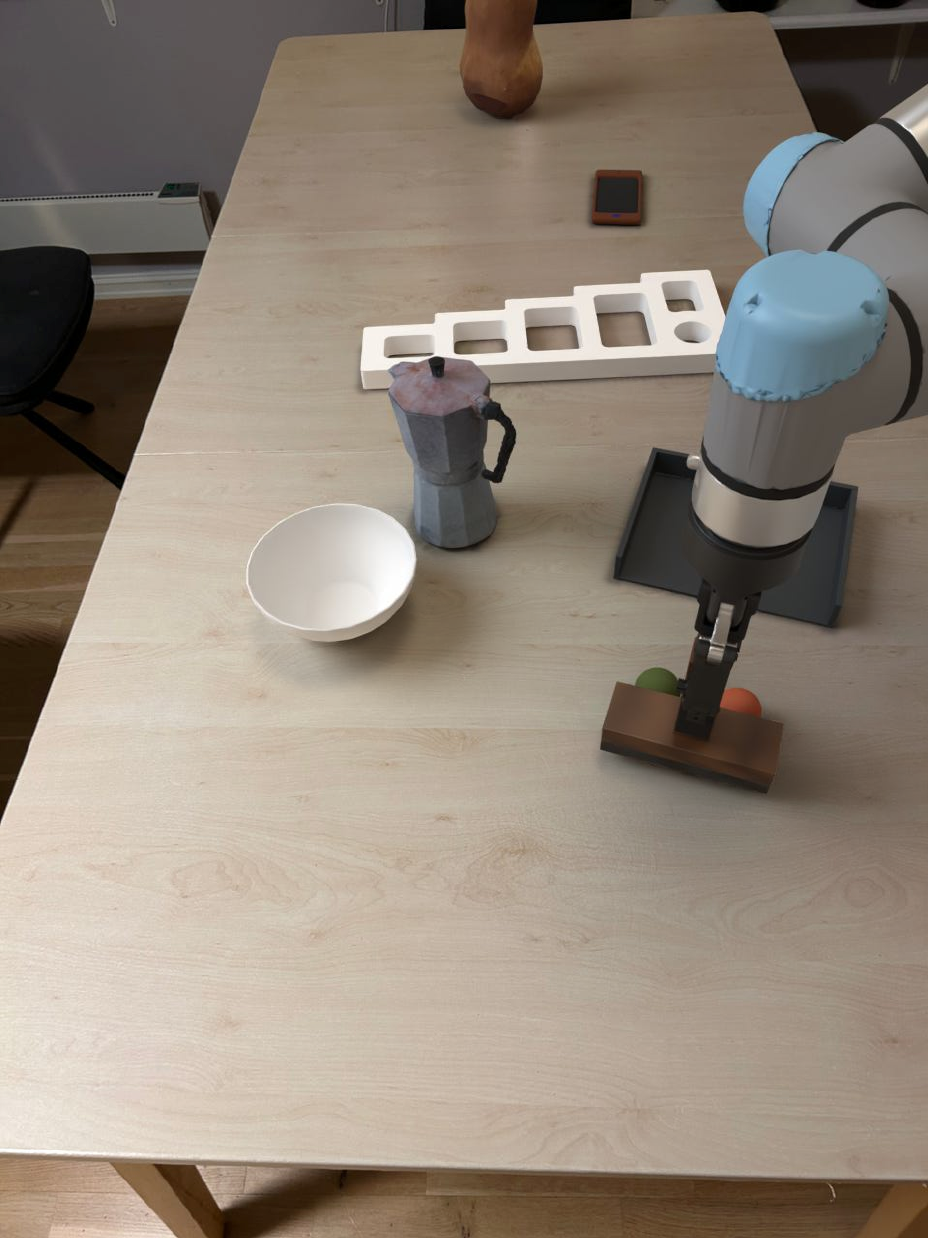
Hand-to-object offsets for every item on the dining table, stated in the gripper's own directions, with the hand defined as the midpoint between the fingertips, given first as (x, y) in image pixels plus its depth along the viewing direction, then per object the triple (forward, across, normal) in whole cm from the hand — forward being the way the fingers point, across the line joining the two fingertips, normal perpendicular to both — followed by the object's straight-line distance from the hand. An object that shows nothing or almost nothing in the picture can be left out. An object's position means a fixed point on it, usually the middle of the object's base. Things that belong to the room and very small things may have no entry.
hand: (695, 715), depth 75 cm
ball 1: (+4, -5, -4) cm, 7 cm away
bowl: (+7, -6, -35) cm, 36 cm away
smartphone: (+6, -91, -28) cm, 95 cm away
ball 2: (+4, -4, +3) cm, 7 cm away
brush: (+5, 0, 0) cm, 5 cm away
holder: (+7, -55, -29) cm, 62 cm away
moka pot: (+7, -21, -28) cm, 36 cm away
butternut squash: (+7, -115, -54) cm, 127 cm away
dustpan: (+6, -31, 0) cm, 32 cm away
